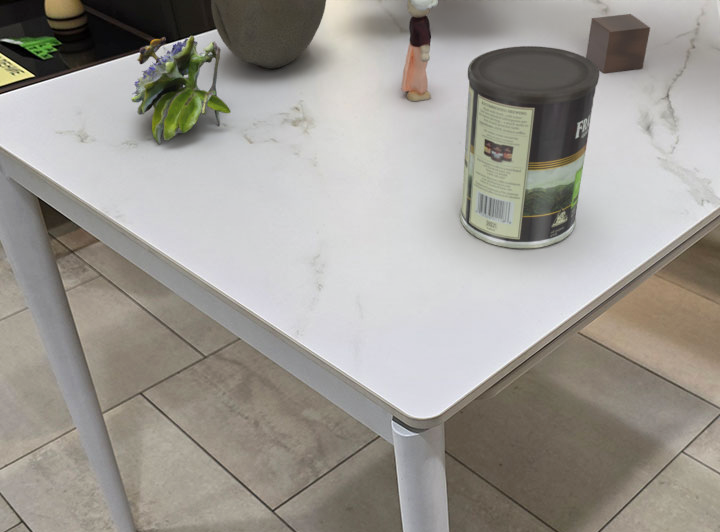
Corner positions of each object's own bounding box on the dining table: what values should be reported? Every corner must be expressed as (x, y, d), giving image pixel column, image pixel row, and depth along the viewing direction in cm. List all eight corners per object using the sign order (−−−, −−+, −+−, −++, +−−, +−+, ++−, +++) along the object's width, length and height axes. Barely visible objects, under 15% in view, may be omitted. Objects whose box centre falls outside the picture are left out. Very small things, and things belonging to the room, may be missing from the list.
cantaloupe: (322, 84, 103) (316, -46, 94) (208, 83, 104) (191, -44, 95) (335, 41, 114) (330, -78, 105) (231, 41, 115) (218, -76, 106)
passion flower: (169, 157, 101) (167, 55, 101) (251, 150, 97) (250, 44, 97) (112, 142, 90) (110, 29, 90) (202, 134, 86) (200, 15, 86)
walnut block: (623, 53, 106) (630, 13, 103) (642, 68, 102) (650, 27, 99) (585, 58, 105) (591, 17, 102) (603, 73, 102) (610, 32, 99)
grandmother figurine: (391, 84, 102) (392, -25, 94) (422, 80, 102) (425, -29, 95) (411, 110, 96) (414, -4, 88) (444, 106, 96) (449, -8, 89)
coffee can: (574, 193, 80) (597, 46, 71) (576, 254, 72) (602, 98, 63) (464, 185, 82) (473, 42, 73) (453, 244, 74) (462, 91, 65)
